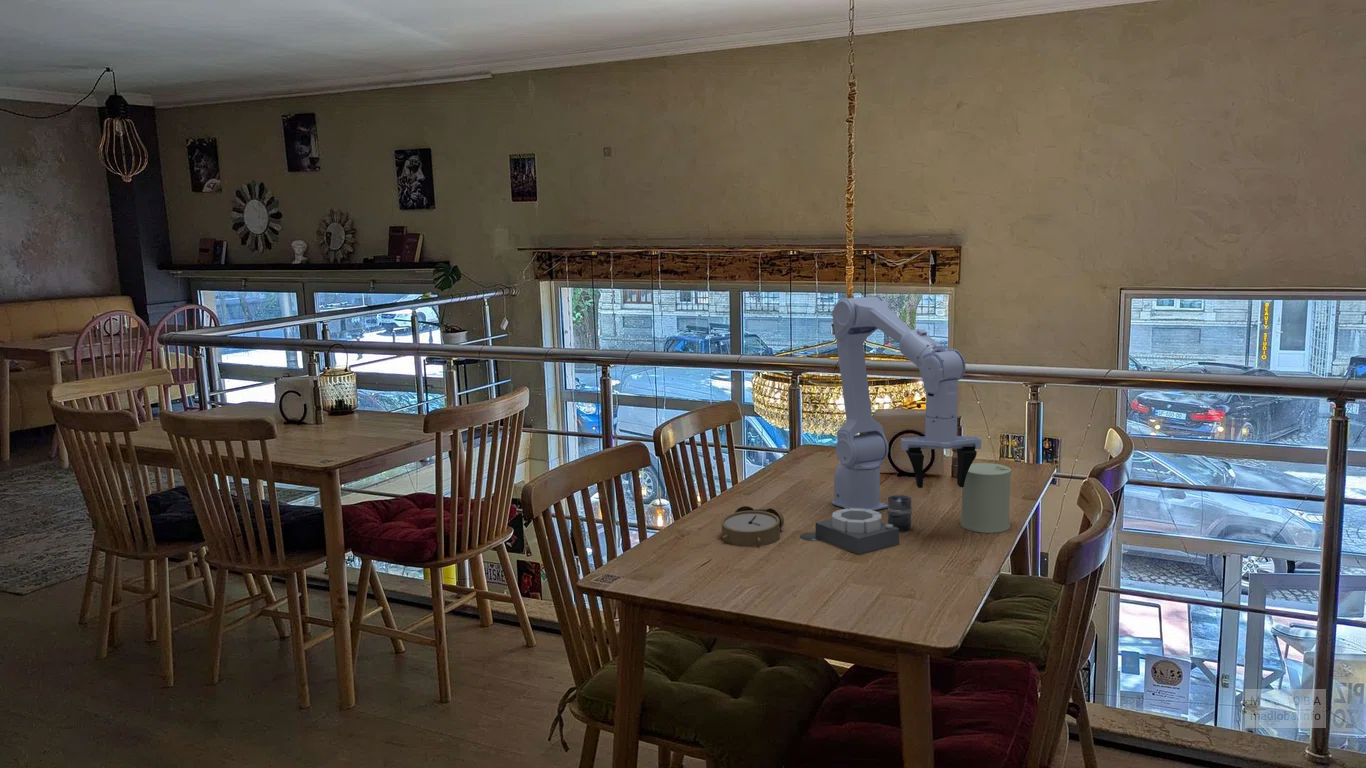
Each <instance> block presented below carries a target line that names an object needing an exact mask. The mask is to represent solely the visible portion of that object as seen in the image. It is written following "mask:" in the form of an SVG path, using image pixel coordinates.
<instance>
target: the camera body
mask: <svg viewBox="0 0 1366 768" xmlns="http://www.w3.org/2000/svg"><path fill="white" fill-rule="evenodd" d="M831 515H832V516H831V518H830V519H826V520H822V521H817V522H815V533H816V538H817V539H820V540H821V541H823V542H825V543H828V544H830V545H832V546H835V547H837V548H840V549H843V550H845V551H848V552H850V553H851V552H852V553H854V554H856V555H864V554H866V553H871V552H874V551H878V550H883V549H884V548H885V549H886V548H889V547H893V546H896V545H899V544H900V531H899V528H897V527H894V526H893V525H892V524H888V523H884V522H882V521H883V520H882V515H883V514H882V513H881V512H879V511H877V510H874V511H873V510H870V509H868V510H866V509H861V508H850V509H847V508H843V509H838V510H835V511H833V512H832V514H831Z"/></svg>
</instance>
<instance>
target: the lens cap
mask: <svg viewBox="0 0 1366 768" xmlns="http://www.w3.org/2000/svg"><path fill="white" fill-rule="evenodd" d="M799 538H800V539H801V540H803V541H808V542H819V541H822V540H820V539H817V538H816V531H815V532H814V531H813V532H811V531H810V532H805V533H802V534H801V533H800V535H799Z"/></svg>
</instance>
